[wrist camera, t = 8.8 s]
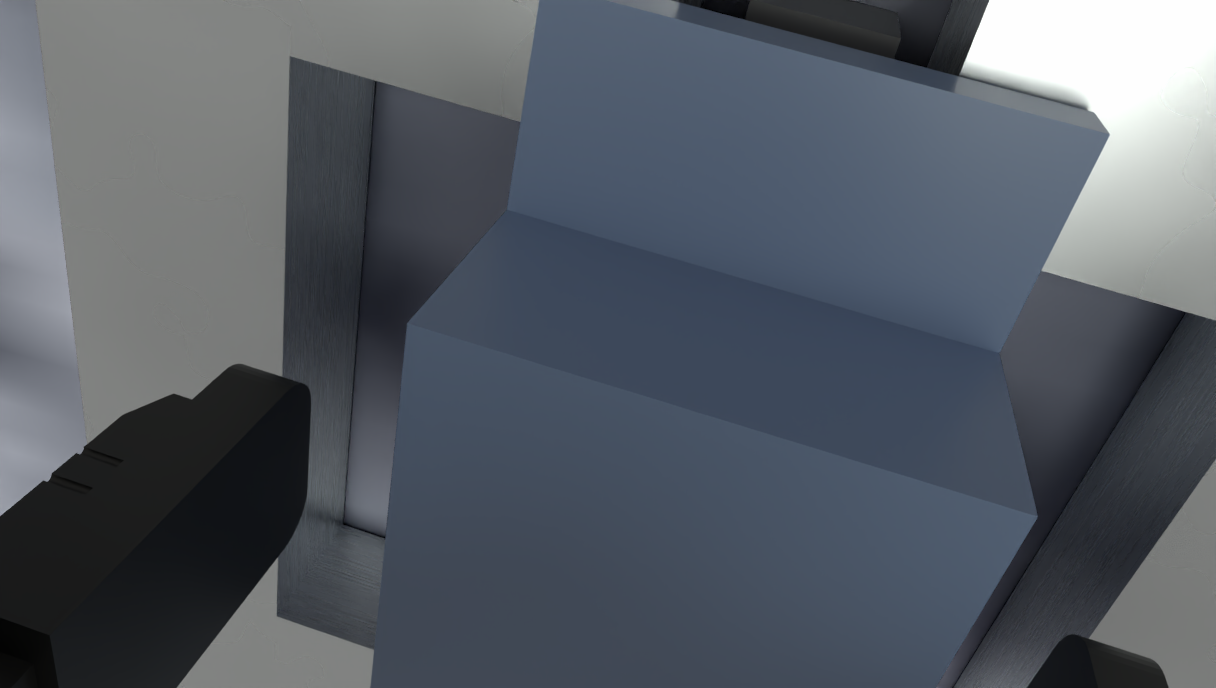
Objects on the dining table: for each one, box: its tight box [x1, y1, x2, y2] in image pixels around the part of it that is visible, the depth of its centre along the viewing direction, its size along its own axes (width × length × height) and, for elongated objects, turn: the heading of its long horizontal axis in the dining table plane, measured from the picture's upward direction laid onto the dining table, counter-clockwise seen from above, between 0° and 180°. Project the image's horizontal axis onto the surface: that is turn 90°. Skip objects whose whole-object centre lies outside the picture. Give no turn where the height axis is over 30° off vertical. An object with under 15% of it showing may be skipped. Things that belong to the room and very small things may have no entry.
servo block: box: [370, 0, 1110, 688], centre depth 10 cm, size 11×4×5 cm, turn 168°
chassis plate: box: [35, 0, 1216, 688], centre depth 12 cm, size 16×15×2 cm
